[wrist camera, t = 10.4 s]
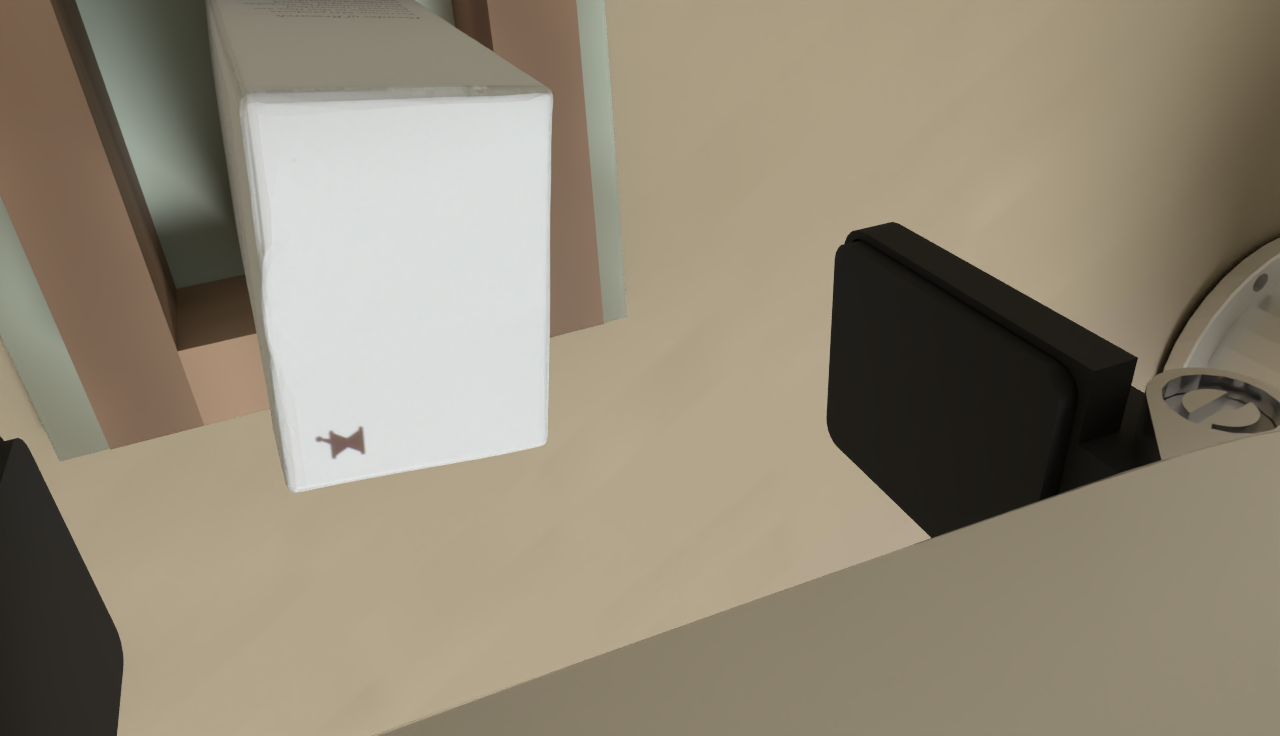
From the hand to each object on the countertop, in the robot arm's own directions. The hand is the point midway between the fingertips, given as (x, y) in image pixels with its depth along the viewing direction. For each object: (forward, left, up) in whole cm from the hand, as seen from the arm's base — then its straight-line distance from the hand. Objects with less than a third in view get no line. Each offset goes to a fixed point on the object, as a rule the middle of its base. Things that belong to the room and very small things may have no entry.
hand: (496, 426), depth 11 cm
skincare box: (0, 0, -15) cm, 15 cm away
